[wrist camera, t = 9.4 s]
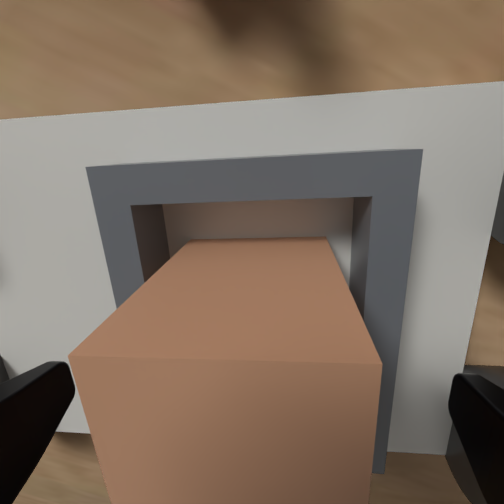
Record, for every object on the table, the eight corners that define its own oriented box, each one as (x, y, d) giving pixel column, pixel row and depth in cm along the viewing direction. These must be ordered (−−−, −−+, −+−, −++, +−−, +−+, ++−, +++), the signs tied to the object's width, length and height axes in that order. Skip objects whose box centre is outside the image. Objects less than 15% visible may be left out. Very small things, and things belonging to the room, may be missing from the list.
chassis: (467, 427, 13) (550, 556, 9) (25, 405, 16) (-69, 498, 11) (546, 78, 9) (776, 16, 5) (-79, 125, 11) (-288, 113, 7)
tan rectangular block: (322, 367, 11) (359, 593, 5) (206, 363, 12) (129, 566, 6) (325, 236, 10) (381, 364, 4) (190, 239, 10) (67, 356, 4)
